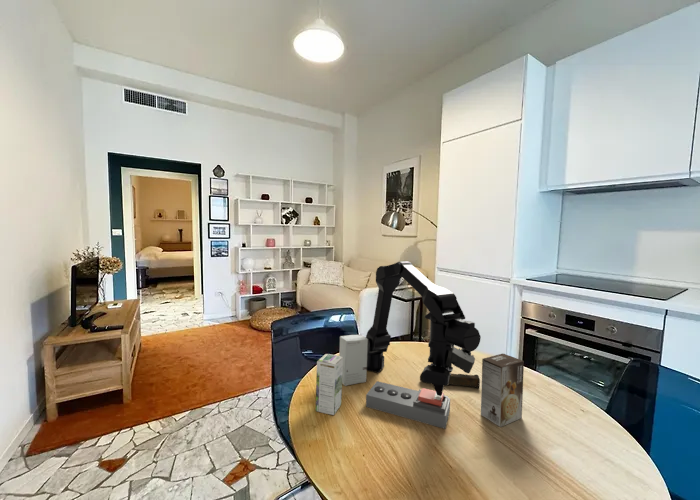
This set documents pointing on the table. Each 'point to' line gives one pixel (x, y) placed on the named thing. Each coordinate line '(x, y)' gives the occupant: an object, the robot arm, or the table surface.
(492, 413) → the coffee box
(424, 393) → the red flat block
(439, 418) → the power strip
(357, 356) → the skincare box
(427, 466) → the table surface
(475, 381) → the hand tool
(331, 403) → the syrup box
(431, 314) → the robot arm
